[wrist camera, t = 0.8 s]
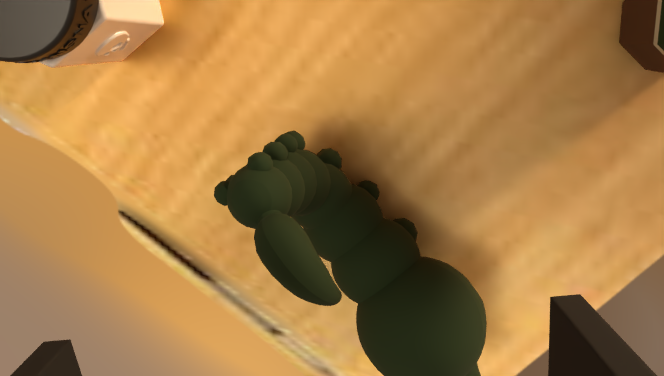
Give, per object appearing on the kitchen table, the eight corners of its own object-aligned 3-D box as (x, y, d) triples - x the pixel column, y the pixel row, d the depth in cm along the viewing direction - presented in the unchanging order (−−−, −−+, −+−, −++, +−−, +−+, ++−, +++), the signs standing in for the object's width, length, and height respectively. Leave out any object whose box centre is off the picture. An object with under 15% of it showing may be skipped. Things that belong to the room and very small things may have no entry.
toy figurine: (244, 169, 41) (424, 375, 44) (141, 246, 22) (464, 591, 25) (328, 98, 39) (509, 318, 42) (290, 117, 20) (620, 507, 23)
